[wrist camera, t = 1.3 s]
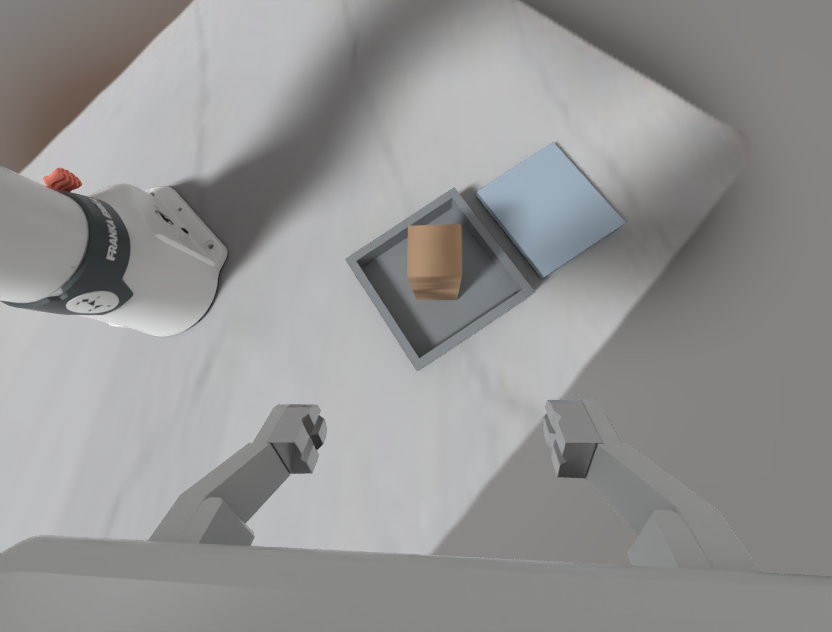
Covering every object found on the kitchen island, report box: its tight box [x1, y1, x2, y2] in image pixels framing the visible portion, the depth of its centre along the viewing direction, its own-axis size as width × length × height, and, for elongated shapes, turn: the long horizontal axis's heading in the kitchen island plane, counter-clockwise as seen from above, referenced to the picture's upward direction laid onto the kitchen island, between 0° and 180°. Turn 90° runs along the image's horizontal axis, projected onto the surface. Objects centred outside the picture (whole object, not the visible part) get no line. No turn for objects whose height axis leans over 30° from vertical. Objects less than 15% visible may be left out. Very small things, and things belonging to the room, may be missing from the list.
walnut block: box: [407, 224, 462, 300], centre depth 32 cm, size 5×5×10 cm
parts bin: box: [345, 188, 535, 371], centre depth 37 cm, size 16×16×4 cm
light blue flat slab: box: [476, 142, 626, 279], centre depth 38 cm, size 14×12×1 cm
